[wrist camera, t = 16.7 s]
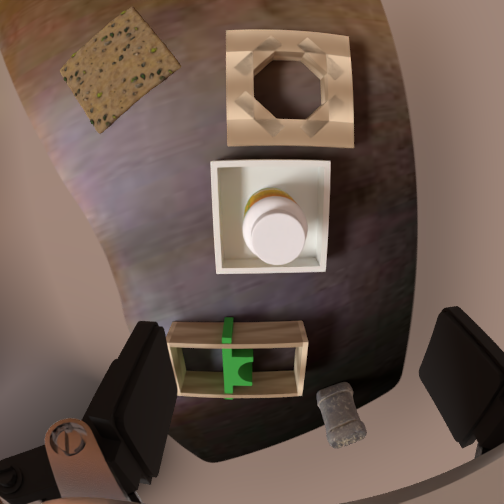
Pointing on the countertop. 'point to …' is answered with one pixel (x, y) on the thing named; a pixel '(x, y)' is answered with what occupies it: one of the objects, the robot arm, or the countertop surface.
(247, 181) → the tray
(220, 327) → the parts corral
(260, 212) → the supplement bottle
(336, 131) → the plate
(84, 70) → the speckled tile
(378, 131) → the countertop surface
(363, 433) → the stone
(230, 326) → the pipe clamp
